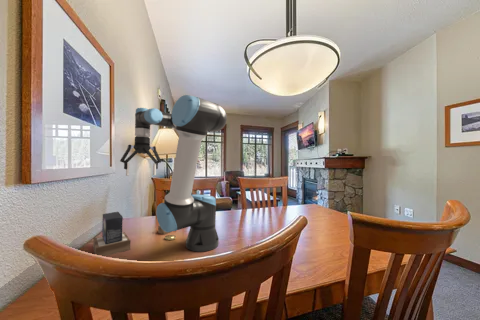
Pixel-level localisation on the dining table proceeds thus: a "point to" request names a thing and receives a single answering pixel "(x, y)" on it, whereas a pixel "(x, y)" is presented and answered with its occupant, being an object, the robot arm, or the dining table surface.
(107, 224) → the small box
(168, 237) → the brass disc
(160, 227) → the walnut block
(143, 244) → the dining table surface
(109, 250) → the plinth
